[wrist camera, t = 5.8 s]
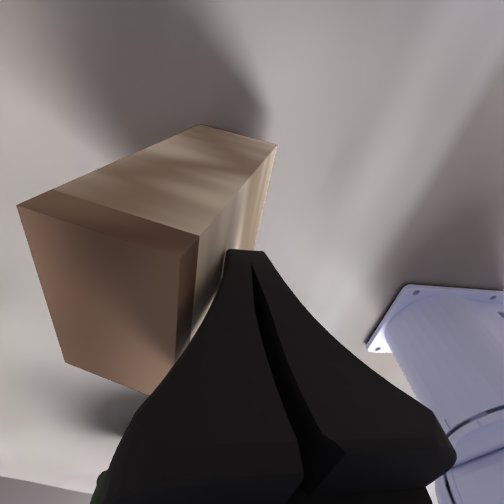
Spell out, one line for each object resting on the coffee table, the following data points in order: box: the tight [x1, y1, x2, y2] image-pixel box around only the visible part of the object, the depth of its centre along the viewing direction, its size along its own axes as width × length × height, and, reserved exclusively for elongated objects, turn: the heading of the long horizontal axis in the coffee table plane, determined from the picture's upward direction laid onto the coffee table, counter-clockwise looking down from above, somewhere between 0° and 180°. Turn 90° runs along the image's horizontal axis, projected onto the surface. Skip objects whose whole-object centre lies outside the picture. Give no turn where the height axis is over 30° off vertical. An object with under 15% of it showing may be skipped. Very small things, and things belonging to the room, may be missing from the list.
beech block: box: [16, 124, 278, 396], centre depth 12 cm, size 4×6×10 cm, turn 170°
